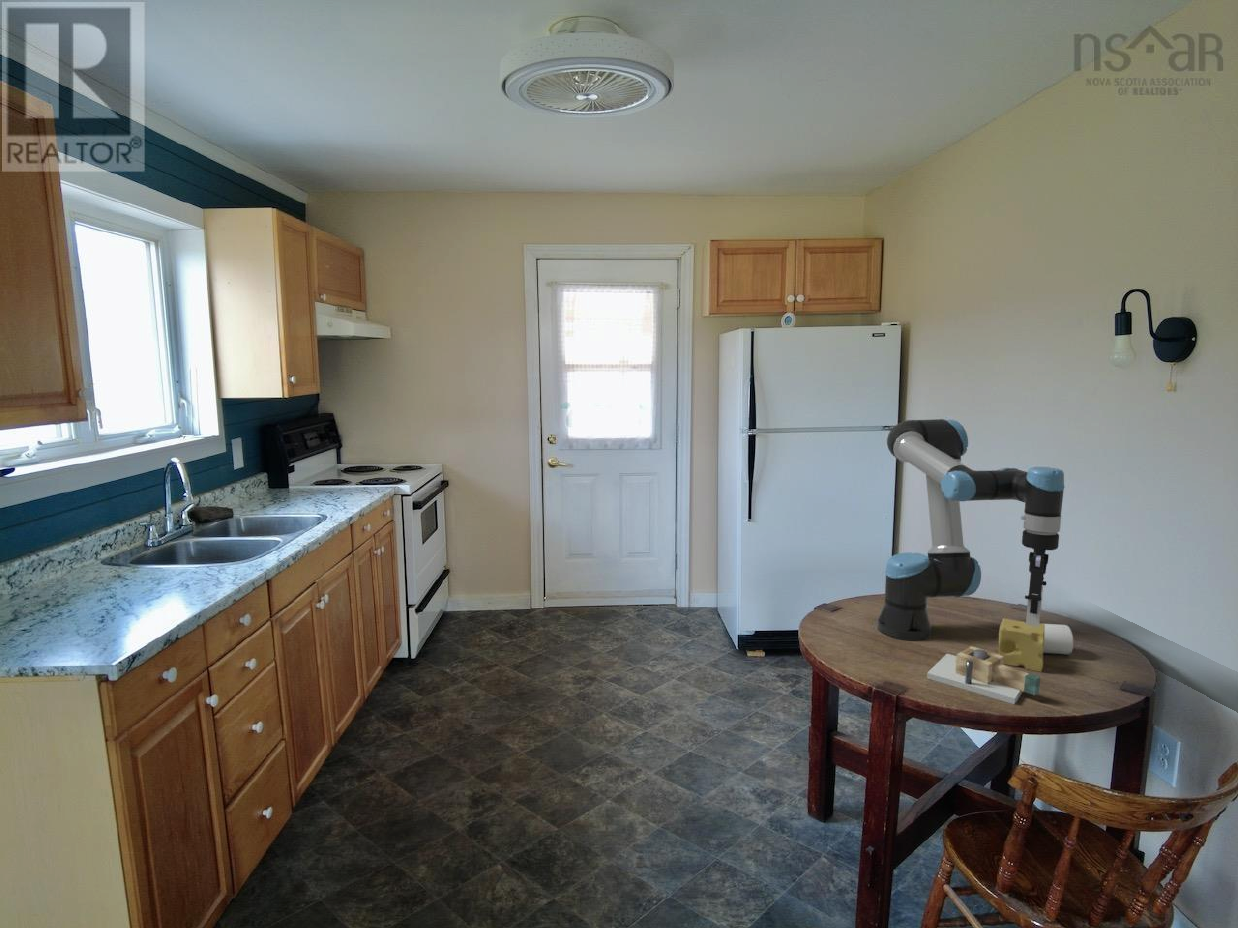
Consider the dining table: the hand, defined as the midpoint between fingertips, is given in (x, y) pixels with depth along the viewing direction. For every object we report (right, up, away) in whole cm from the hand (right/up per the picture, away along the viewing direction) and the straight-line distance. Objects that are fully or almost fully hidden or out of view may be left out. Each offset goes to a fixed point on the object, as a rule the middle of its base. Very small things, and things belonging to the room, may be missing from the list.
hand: (1033, 617), depth 166 cm
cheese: (+7, -16, +17) cm, 24 cm away
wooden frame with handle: (-7, -16, +2) cm, 18 cm away
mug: (+18, -15, +25) cm, 34 cm away
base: (-10, -17, +6) cm, 21 cm away
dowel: (-15, -17, +1) cm, 23 cm away
